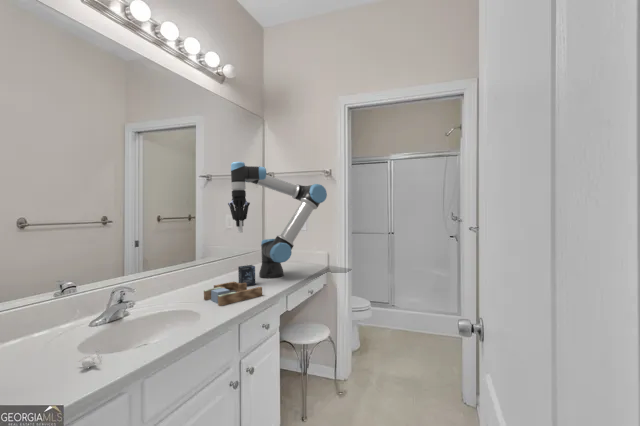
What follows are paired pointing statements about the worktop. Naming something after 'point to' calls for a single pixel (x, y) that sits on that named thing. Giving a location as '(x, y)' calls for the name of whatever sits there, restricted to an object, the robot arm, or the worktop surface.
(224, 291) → the block
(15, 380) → the worktop surface
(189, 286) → the worktop surface
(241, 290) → the wooden zigzag frame
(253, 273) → the box
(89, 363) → the dove figurine
